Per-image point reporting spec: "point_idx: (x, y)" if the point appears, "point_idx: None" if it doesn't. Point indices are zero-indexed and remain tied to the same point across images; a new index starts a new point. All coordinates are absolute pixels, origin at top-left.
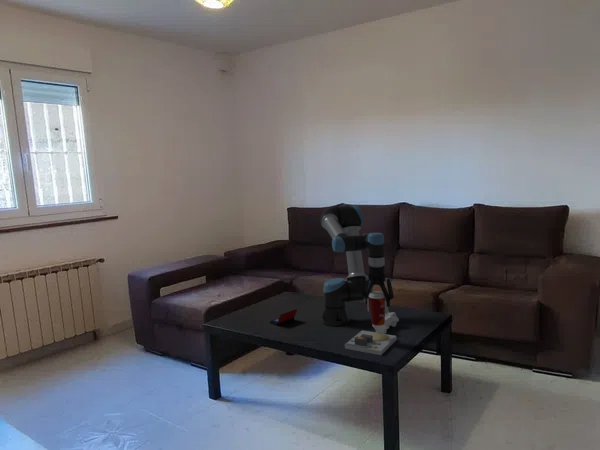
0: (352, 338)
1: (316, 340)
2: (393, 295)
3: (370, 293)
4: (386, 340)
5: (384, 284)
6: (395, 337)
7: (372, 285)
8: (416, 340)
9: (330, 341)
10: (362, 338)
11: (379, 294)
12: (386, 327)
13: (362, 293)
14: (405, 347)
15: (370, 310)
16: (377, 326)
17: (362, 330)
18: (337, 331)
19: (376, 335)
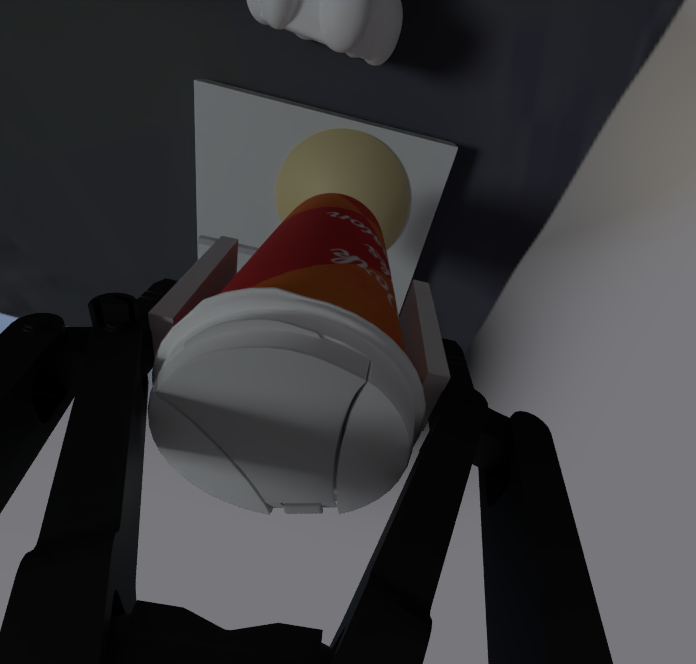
0: (199, 247)
1: (21, 248)
2: (553, 455)
3: (177, 458)
4: (396, 240)
5: (421, 642)
6: (450, 166)
7: (131, 603)
8: (593, 121)
9: (94, 247)
10: None
11: (330, 490)
12: (382, 61)
13: (35, 405)
14: (500, 250)
15: (237, 257)
16: (299, 34)
17: (196, 82)
18: (16, 61)
19: (323, 176)
